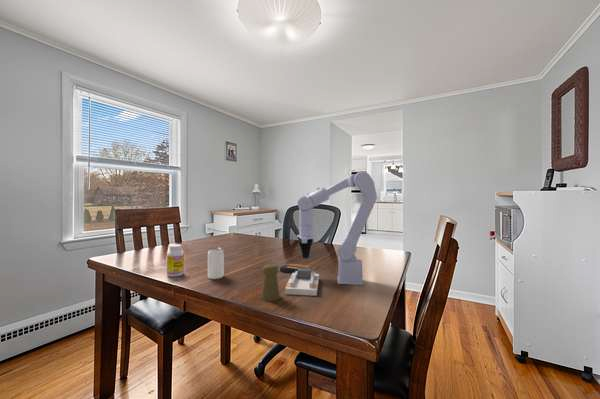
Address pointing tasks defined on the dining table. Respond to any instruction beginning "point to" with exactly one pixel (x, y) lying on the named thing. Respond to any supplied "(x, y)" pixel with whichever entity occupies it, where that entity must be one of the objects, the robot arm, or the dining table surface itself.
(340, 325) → the dining table surface
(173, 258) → the supplement bottle
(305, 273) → the switch tab
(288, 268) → the ammunition clip
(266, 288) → the green chess rook
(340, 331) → the dining table surface
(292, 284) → the switch board
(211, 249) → the can
